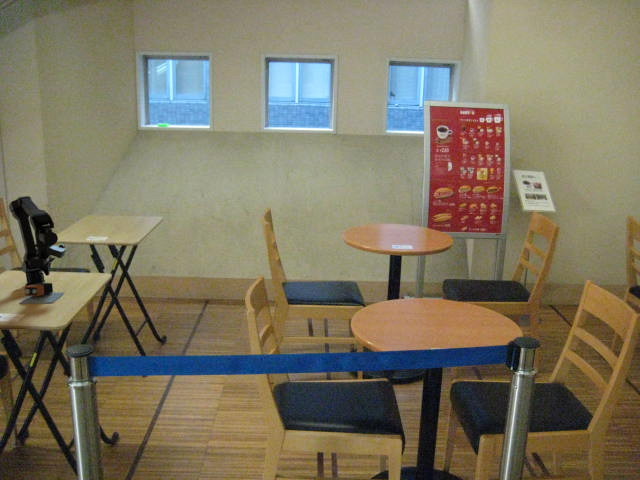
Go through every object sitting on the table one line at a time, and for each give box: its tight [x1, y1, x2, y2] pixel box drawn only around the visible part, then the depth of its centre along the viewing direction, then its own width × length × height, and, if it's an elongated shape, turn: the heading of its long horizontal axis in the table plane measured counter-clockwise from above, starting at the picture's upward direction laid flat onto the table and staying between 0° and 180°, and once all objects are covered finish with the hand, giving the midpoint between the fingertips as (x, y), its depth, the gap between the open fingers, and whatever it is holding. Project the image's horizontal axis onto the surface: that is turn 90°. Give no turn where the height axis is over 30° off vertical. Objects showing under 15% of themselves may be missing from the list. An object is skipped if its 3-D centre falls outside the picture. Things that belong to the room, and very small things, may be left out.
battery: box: [24, 282, 54, 297], centre depth 251 cm, size 4×7×10 cm
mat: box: [19, 292, 65, 305], centre depth 250 cm, size 14×12×1 cm
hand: (47, 275), depth 255 cm, fingers closed
